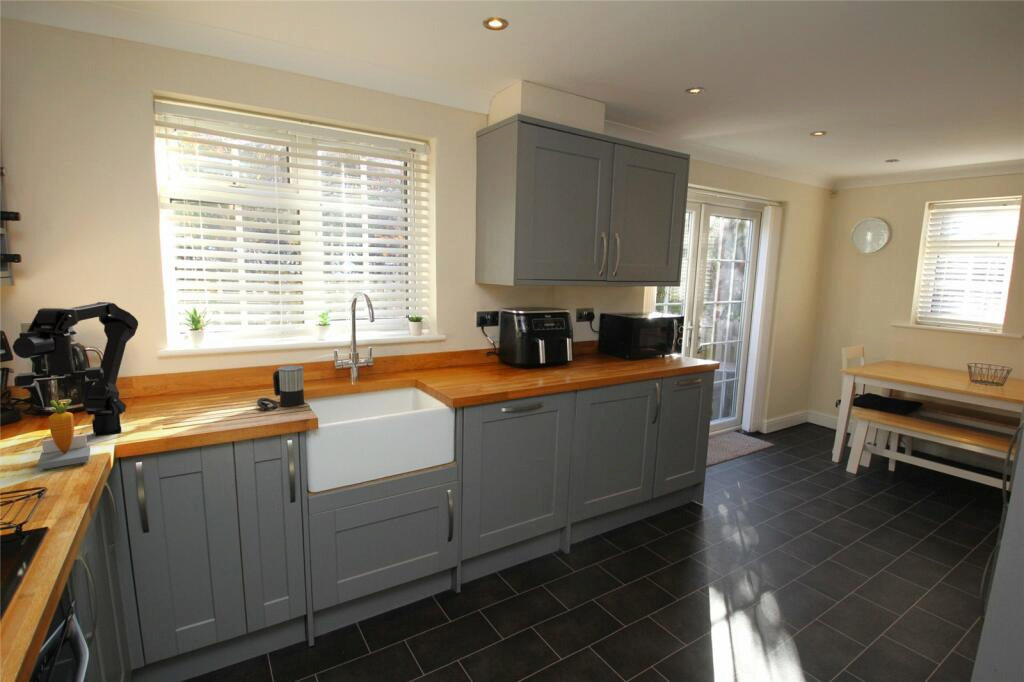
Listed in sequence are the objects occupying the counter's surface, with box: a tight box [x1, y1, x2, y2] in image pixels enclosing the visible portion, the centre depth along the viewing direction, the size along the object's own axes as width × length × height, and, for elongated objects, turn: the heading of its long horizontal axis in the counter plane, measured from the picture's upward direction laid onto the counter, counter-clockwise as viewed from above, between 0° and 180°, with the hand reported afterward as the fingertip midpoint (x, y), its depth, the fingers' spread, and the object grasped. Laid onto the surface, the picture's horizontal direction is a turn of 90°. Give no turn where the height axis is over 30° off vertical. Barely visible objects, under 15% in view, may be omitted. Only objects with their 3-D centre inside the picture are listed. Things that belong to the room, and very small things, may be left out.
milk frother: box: [256, 365, 306, 410], centre depth 193 cm, size 14×16×15 cm
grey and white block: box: [37, 433, 91, 471], centre depth 135 cm, size 10×10×6 cm
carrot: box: [48, 399, 75, 453], centre depth 134 cm, size 5×5×15 cm
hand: (64, 405), depth 144 cm, fingers open, 9 cm apart
